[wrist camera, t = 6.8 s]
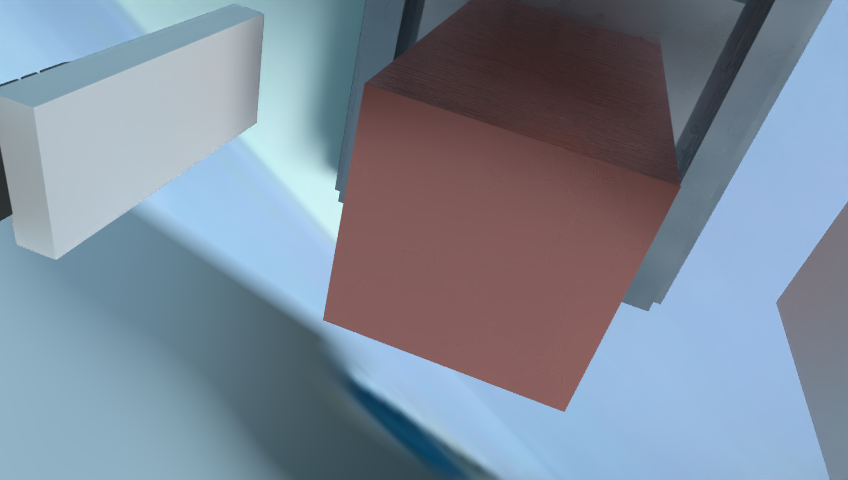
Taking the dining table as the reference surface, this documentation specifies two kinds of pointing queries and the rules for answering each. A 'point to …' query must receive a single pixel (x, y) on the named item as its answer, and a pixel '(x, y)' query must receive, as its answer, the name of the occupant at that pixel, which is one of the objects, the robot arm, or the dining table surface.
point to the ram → (518, 180)
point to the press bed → (700, 139)
